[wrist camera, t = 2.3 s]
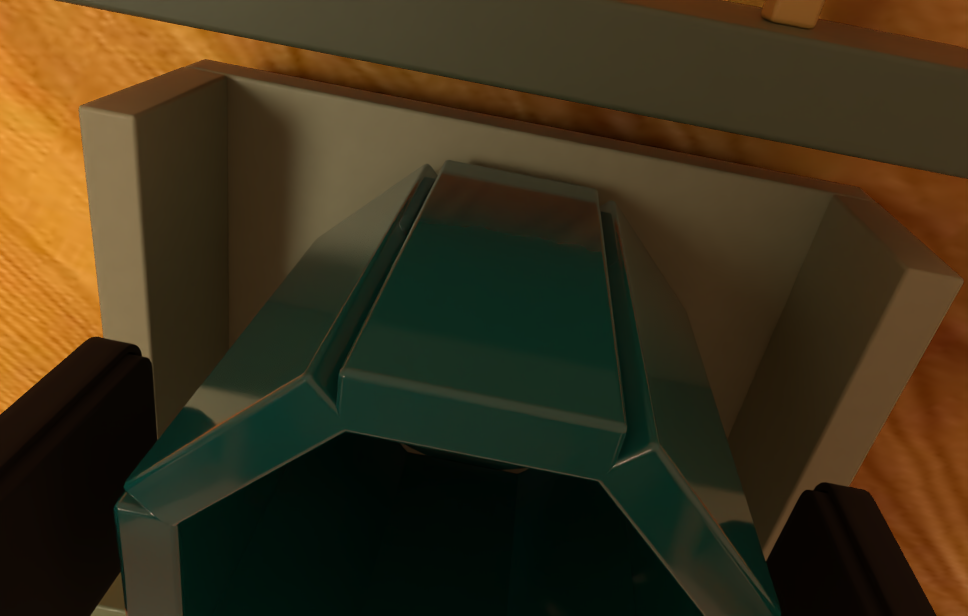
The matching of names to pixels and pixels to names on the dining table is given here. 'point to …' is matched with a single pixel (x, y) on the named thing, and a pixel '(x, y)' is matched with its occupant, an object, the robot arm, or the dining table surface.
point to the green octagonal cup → (452, 429)
